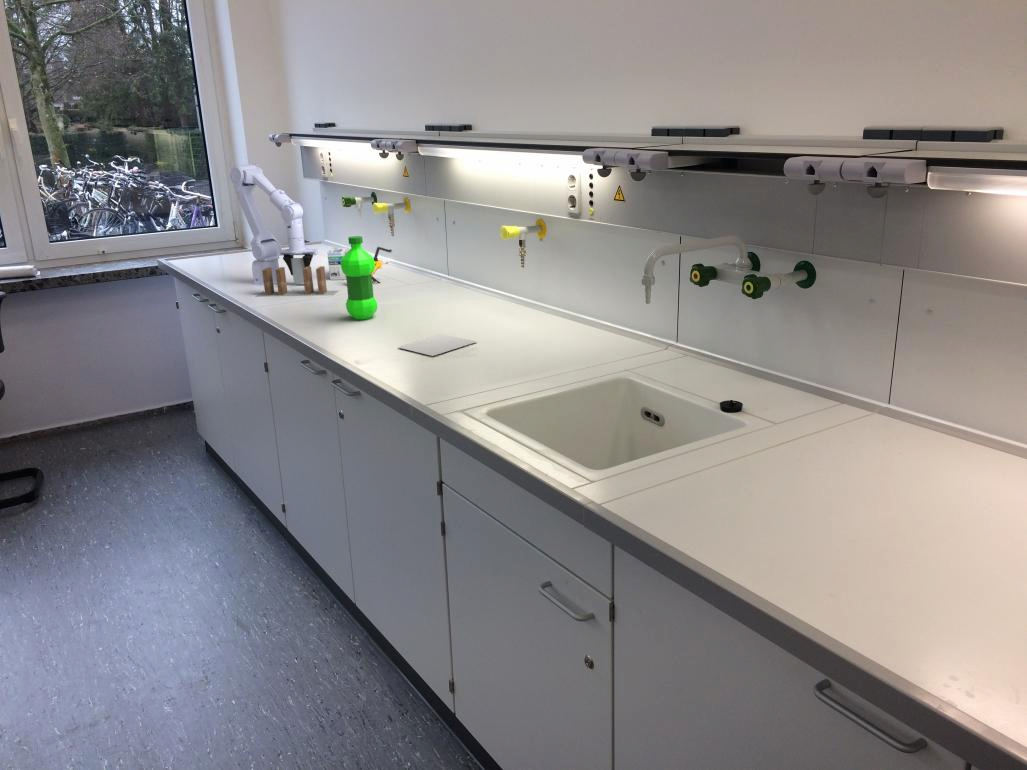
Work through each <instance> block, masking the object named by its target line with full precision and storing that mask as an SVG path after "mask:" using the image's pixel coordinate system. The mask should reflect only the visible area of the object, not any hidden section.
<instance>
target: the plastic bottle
mask: <svg viewBox="0 0 1027 770" xmlns="http://www.w3.org/2000/svg"><path fill="white" fill-rule="evenodd" d="M347 238H348V239H347V240H348V244H349V245H350V249H349V251H348V252H347V253H346V254H345V255H344V256H343V257H342V259H341V269H342V272H343V273H344V274H345V275H346V279H345V281H346V289H347V290H346V291H347V299H346V303H345V308H346V311H347V313H348V315H350V316H351V317H352V318H354V320H359V321H363V320H369V319H370V318H371V319H372V317H373V316H374V314H376V312H377V309H378V302H377V300H376V297H374V286H373V280H372V276H373V275H372V273H373V272H374V270H375V261H374V256H372V255H371V254H370V253H369V252H368V251H366V249H364V248H362V244H363V243H364V242H363V236H360V235H356V236H355V235H353V236H349V237H347Z"/></svg>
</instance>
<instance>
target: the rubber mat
mask: <svg viewBox="0 0 1027 770" xmlns="http://www.w3.org/2000/svg"><path fill="white" fill-rule="evenodd" d="M339 292H340V290H327V292H326V293H324V294H322V295H319V292H318V290H314V292H313V293H311V294H310V295H305V290H299V291H298V290H293V291H292V290H291V291H290V290H289V291H288V290H287V293H286V294H284V295H279V294H278V291H274V293H273V294H271V295H266V296H265V291H261V292H260V293H258V294H257V295H255V297H257V298H259V297H304V296H306V297H314V296H316V297H317V296H318V297H319V296H334V295H335V294H337V293H339Z"/></svg>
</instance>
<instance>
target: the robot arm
mask: <svg viewBox="0 0 1027 770" xmlns="http://www.w3.org/2000/svg"><path fill="white" fill-rule="evenodd" d="M229 178H230V180H231V183H232V184H233V188H234V191H235V194H236V197H237V199H238V202H239V204H240V206H241V209H242V211H243V213H244V216H245V219H246V221H247V223H248V225H249V228H250V231H251V233H252V235H253V238H252V240H250V247H251V252H252V256H253V257H254V258H255V260H253V261H252V263H251V271H252V278H253V284H252V285H256V286H257V285H258V286H259V285H263V286H264V281H263V273H262V270H263V269H265V268H271V269H272V277H273V285H277V278H276V269H278V268H280V265H279V259H280V256H283V257H282V259H283V261H284V262H285V264H286V266H287V267H288V270H289V273H290V276H293V271H292V262H291V259H292V258H295V256H302V257H301V258H303V261H304V266H305V267H311V262H312V260H313V257H314V256H317V255H319V251H318V248H306V246H305V245H306V244H305V234H304V225H303V218H304V217H305V215H306V214H305V213H306V212H305V211H306V210H305V208H304V206H303V205H302V204H301V203H300V202H296V201H294V200H293V199H292V198H290V196H288V195H287V194H286V191H284V190H282V189H277V188H275V186H274V185H273V184H272V183H271V181H270V180H269V179H268V178H267V177H266V176H265V175H264V171H263V168H260V167H259V165H258V164H257V163H251V164H240V165H233V166H232V168H231V170H230V174H229ZM256 186H257V187H258V188H259V189H261V190H262V191H263V192H264V193H266V195H268V197H269V202H270V203H271V204H272V205H273V206H275V207H276V208H277V209H278V210H279V212H281V213H280V215H281V217H282V219H283V222H284V226H285V227H286V233H287V234H286V235H287V244H288V249H287V248H286V249H283V248H282V245H281V243H280V242H279V241H278V239H277V238H276V236H275V235H274V234H272V233H271V232H270V231H268V228H267V227H266V224H265V221H264V219H263V216H262V214H261V211H260V209H259V206H258V204H257V202H256V199H255V197H254V195H253V191H254V189H255V188H256Z"/></svg>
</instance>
